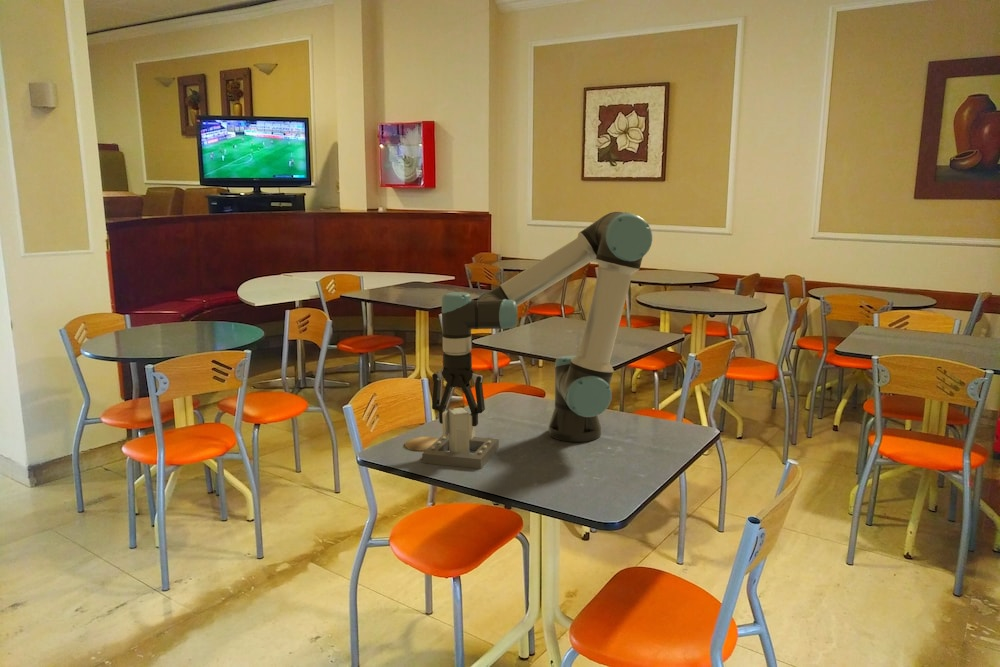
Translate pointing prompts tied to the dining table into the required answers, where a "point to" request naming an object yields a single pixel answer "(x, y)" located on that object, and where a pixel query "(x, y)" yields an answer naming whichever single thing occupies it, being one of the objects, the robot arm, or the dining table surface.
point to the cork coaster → (420, 443)
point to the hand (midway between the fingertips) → (458, 436)
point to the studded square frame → (476, 460)
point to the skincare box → (458, 430)
